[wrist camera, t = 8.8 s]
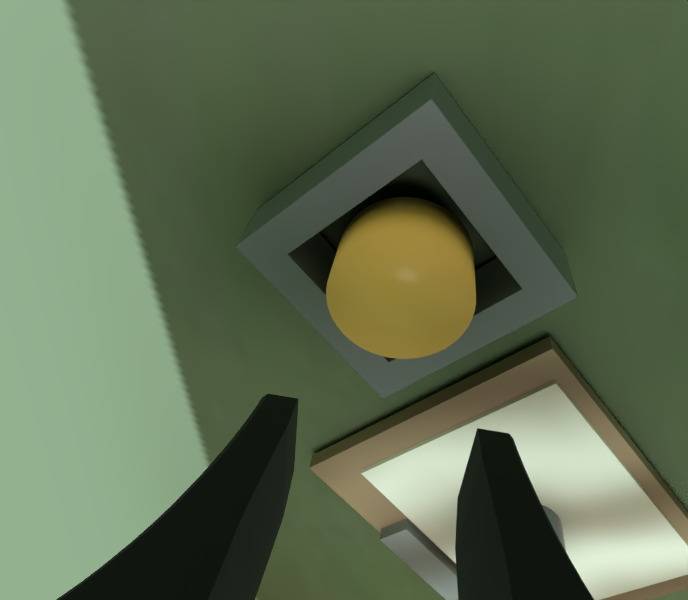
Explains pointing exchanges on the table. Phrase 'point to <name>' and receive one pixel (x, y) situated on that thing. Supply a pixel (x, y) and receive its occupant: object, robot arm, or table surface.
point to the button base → (467, 192)
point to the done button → (403, 279)
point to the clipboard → (541, 466)
